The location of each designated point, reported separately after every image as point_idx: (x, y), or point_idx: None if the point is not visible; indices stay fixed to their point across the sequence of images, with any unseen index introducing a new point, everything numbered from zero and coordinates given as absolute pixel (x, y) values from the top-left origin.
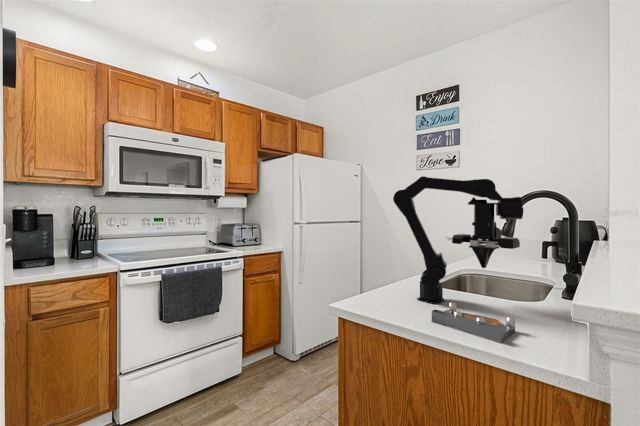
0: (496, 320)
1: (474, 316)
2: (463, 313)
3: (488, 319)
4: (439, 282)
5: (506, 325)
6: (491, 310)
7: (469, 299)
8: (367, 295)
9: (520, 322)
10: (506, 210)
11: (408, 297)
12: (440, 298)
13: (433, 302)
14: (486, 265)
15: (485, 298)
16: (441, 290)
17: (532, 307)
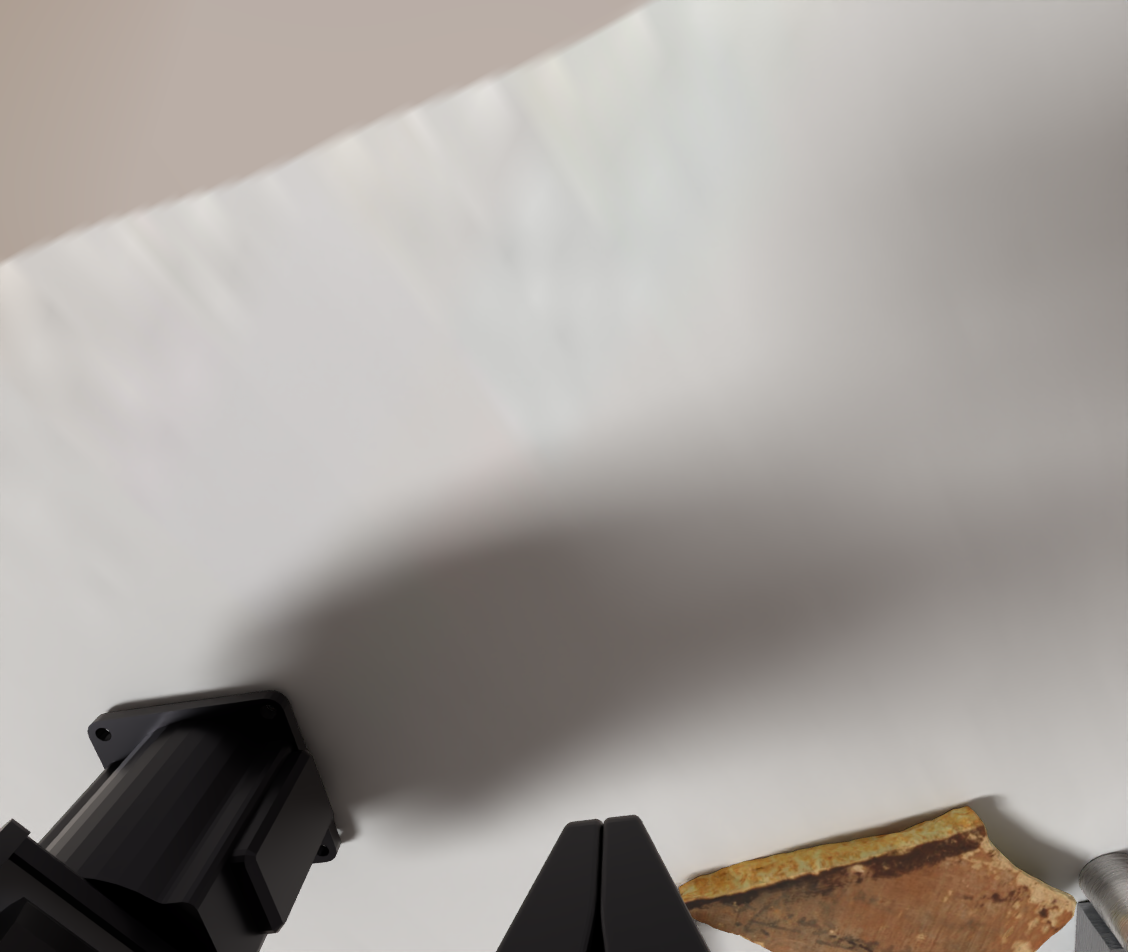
0: (992, 875)
1: (817, 921)
2: (707, 914)
3: (938, 908)
4: (168, 909)
5: (1122, 949)
6: (755, 572)
7: (374, 431)
8: None
9: (1101, 653)
10: None
11: None
12: (316, 803)
13: (332, 857)
14: (662, 871)
15: (435, 210)
16: (274, 858)
17: (1027, 22)
